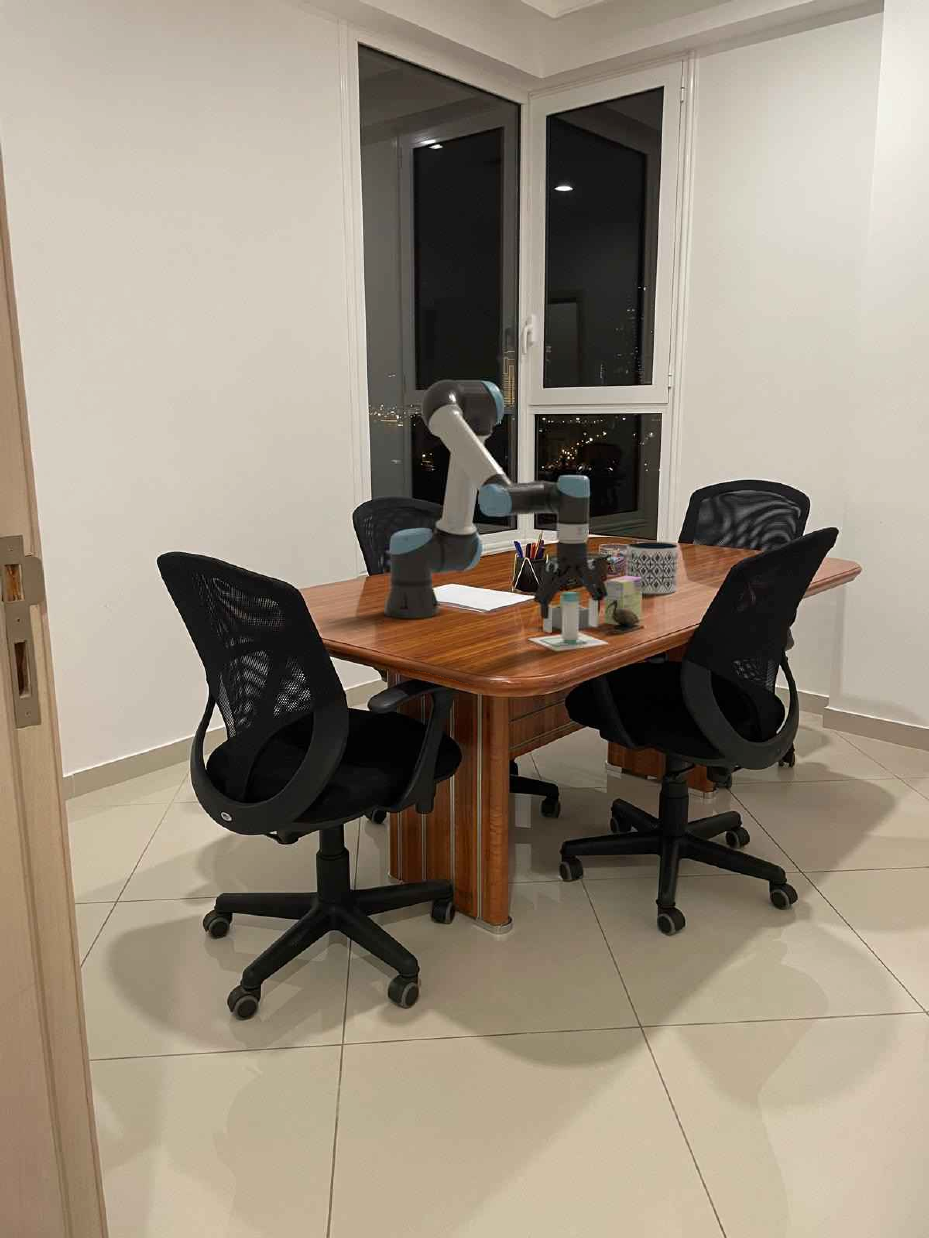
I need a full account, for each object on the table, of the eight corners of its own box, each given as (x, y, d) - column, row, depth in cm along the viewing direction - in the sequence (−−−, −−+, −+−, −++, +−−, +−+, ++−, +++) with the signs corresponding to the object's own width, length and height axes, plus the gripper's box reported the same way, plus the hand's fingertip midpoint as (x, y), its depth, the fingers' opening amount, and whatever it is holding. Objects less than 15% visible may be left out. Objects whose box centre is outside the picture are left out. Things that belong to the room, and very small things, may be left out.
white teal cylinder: (567, 644, 230) (568, 595, 227) (558, 641, 234) (558, 593, 231) (582, 642, 232) (583, 594, 229) (572, 639, 235) (573, 591, 233)
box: (623, 617, 263) (624, 575, 261) (641, 620, 259) (643, 577, 257) (603, 623, 255) (604, 580, 253) (622, 626, 252) (623, 582, 249)
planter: (677, 595, 294) (679, 549, 291) (625, 594, 297) (626, 548, 294) (674, 586, 309) (676, 542, 306) (624, 585, 312) (626, 541, 309)
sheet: (556, 651, 225) (556, 649, 225) (528, 639, 237) (528, 638, 237) (609, 644, 232) (609, 642, 232) (578, 633, 243) (579, 632, 243)
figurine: (612, 637, 240) (613, 603, 238) (598, 635, 243) (598, 601, 241) (644, 628, 250) (645, 596, 248) (629, 626, 253) (630, 594, 251)
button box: (564, 630, 247) (564, 611, 246) (547, 624, 254) (548, 606, 252) (590, 627, 250) (590, 608, 249) (572, 621, 257) (573, 603, 256)
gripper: (536, 546, 219) (535, 637, 223) (623, 539, 230) (620, 626, 234) (519, 542, 225) (518, 630, 230) (605, 536, 236) (603, 620, 241)
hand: (570, 628), depth 232 cm, fingers open, 12 cm apart
